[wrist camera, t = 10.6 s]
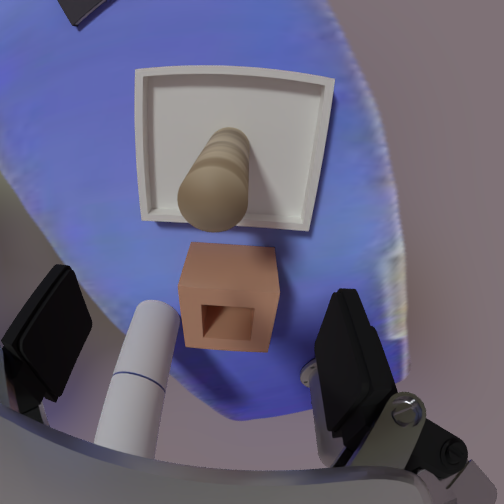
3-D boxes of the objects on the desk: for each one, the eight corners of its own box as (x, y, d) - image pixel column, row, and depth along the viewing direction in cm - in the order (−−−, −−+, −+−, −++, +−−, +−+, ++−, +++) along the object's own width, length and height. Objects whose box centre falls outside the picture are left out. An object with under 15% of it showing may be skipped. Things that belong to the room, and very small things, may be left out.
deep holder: (265, 306, 40) (267, 352, 33) (194, 301, 39) (185, 346, 33) (274, 247, 34) (280, 293, 28) (191, 241, 34) (177, 286, 27)
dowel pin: (247, 167, 28) (245, 234, 17) (207, 164, 27) (178, 230, 17) (251, 128, 25) (251, 170, 15) (209, 126, 25) (176, 166, 14)
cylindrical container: (186, 312, 41) (157, 481, 20) (171, 336, 44) (144, 483, 24) (142, 292, 39) (89, 460, 18) (131, 320, 42) (88, 465, 21)
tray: (304, 220, 32) (308, 231, 30) (148, 210, 31) (141, 220, 29) (328, 78, 23) (335, 79, 21) (144, 69, 22) (135, 69, 20)
